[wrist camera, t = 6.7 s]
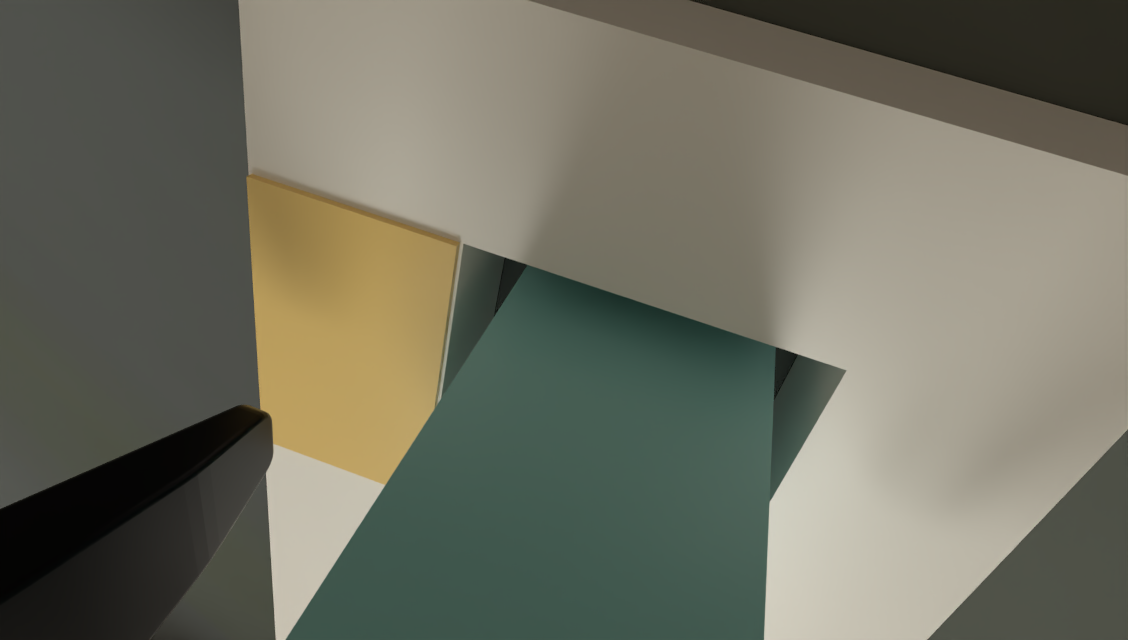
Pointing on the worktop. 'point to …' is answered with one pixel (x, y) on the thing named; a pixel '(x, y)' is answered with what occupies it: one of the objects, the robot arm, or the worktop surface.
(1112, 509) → the worktop surface
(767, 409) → the plug
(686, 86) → the panel
